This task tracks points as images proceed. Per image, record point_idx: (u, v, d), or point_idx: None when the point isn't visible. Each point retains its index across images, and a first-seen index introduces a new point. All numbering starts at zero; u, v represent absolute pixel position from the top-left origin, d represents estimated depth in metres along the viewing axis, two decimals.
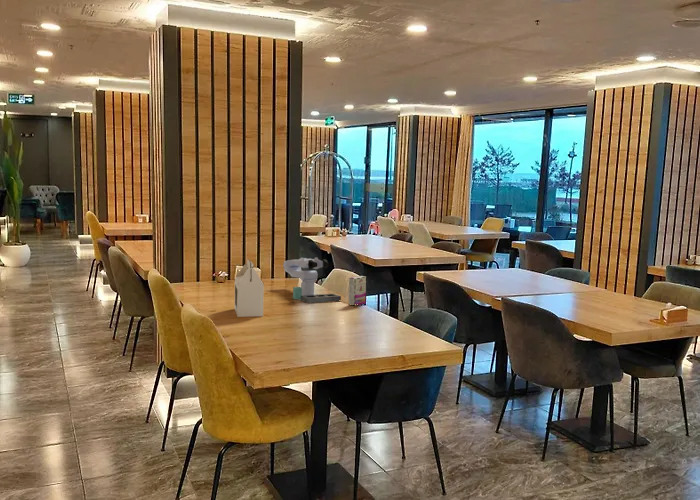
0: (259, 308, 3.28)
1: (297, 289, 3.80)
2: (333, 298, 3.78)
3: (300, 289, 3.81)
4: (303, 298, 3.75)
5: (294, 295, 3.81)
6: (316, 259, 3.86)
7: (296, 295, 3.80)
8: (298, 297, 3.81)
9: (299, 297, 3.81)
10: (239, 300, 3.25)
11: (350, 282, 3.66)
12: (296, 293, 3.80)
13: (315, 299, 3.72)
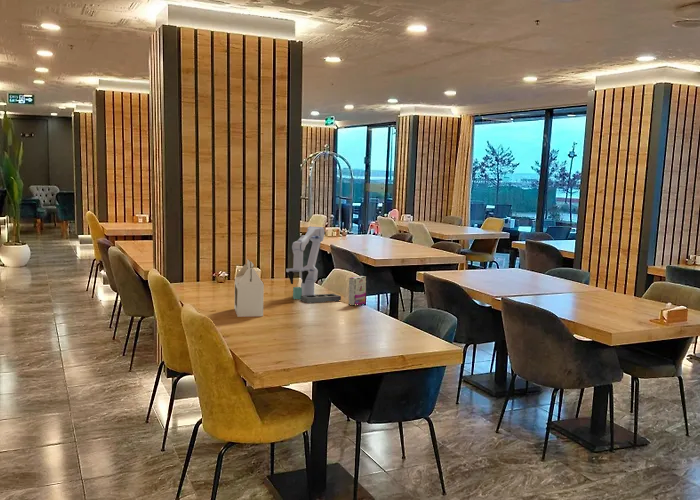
0: (259, 308, 3.28)
1: (297, 289, 3.80)
2: (333, 298, 3.78)
3: (300, 289, 3.81)
4: (303, 298, 3.75)
5: (294, 295, 3.81)
6: None
7: (296, 295, 3.80)
8: (298, 297, 3.81)
9: (299, 297, 3.81)
10: (239, 300, 3.25)
11: (350, 282, 3.66)
12: (296, 293, 3.80)
13: (315, 299, 3.72)
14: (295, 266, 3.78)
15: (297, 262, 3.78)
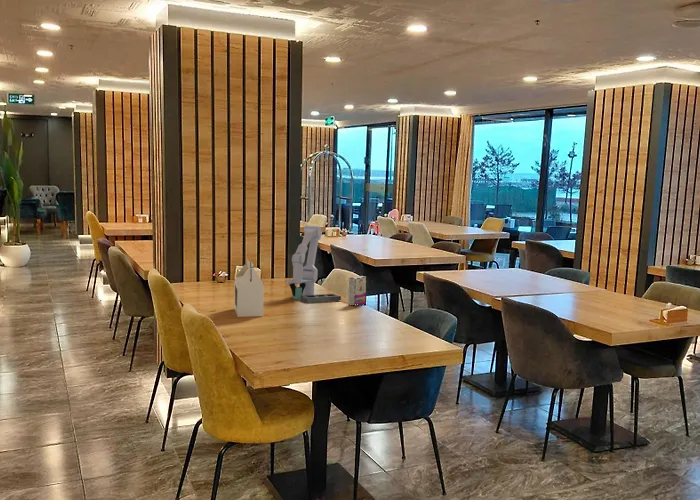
0: (259, 308, 3.28)
1: (297, 289, 3.80)
2: (333, 298, 3.78)
3: (300, 289, 3.81)
4: (303, 298, 3.75)
5: None
6: (299, 282, 3.79)
7: (296, 295, 3.80)
8: (298, 297, 3.81)
9: (299, 297, 3.81)
10: (239, 300, 3.25)
11: (350, 282, 3.66)
12: (296, 293, 3.80)
13: (315, 299, 3.72)
14: (295, 278, 3.79)
15: (297, 274, 3.79)
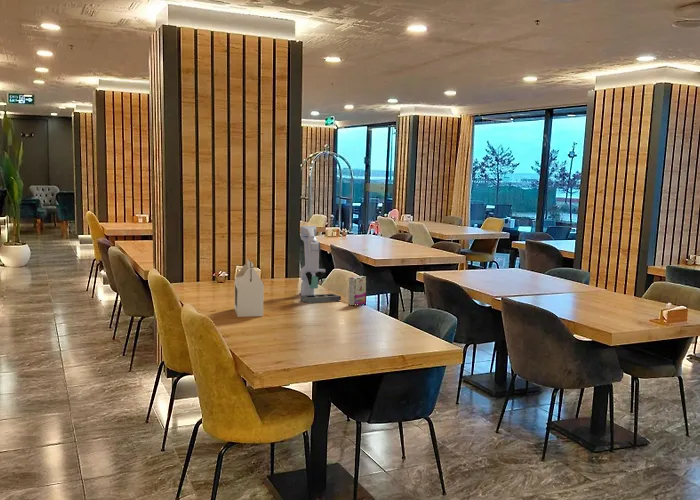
0: (259, 308, 3.28)
1: (313, 278, 3.77)
2: (333, 298, 3.78)
3: (316, 278, 3.78)
4: (303, 298, 3.75)
5: (311, 284, 3.78)
6: (315, 271, 3.76)
7: (312, 284, 3.77)
8: (314, 286, 3.78)
9: (315, 286, 3.78)
10: (239, 300, 3.25)
11: (350, 282, 3.66)
12: (312, 282, 3.77)
13: (315, 299, 3.72)
14: (311, 267, 3.76)
15: (313, 263, 3.75)
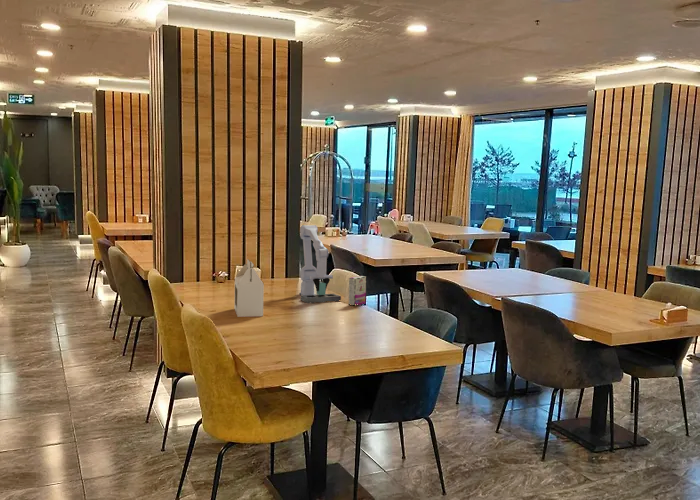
0: (259, 308, 3.28)
1: (321, 284, 3.76)
2: (333, 298, 3.78)
3: (324, 284, 3.77)
4: (303, 298, 3.75)
5: (318, 291, 3.77)
6: (323, 277, 3.75)
7: (320, 291, 3.76)
8: (322, 292, 3.77)
9: (323, 292, 3.77)
10: (239, 300, 3.25)
11: (350, 282, 3.66)
12: (320, 288, 3.76)
13: (315, 299, 3.72)
14: (319, 273, 3.75)
15: (321, 269, 3.75)
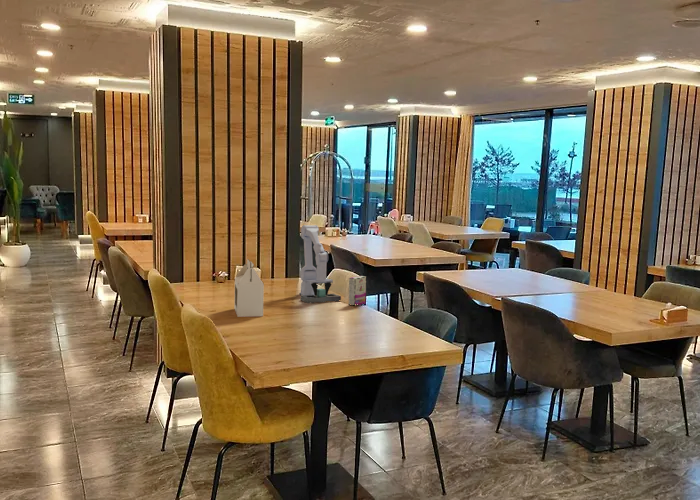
0: (259, 308, 3.28)
1: (321, 291, 3.76)
2: (333, 298, 3.78)
3: (324, 291, 3.77)
4: (303, 298, 3.75)
5: None
6: (323, 281, 3.76)
7: None
8: None
9: None
10: (239, 300, 3.25)
11: (350, 282, 3.66)
12: (320, 295, 3.76)
13: (315, 299, 3.72)
14: (318, 278, 3.75)
15: (320, 274, 3.75)
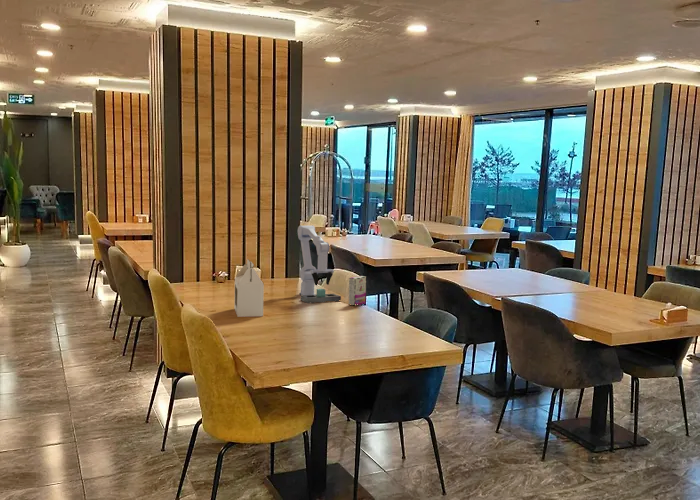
0: (259, 308, 3.28)
1: (321, 291, 3.76)
2: (333, 298, 3.78)
3: (324, 291, 3.77)
4: (303, 298, 3.75)
5: None
6: (324, 271, 3.77)
7: None
8: None
9: None
10: (239, 300, 3.25)
11: (350, 282, 3.66)
12: (320, 295, 3.76)
13: (315, 299, 3.72)
14: (319, 267, 3.77)
15: (321, 263, 3.76)
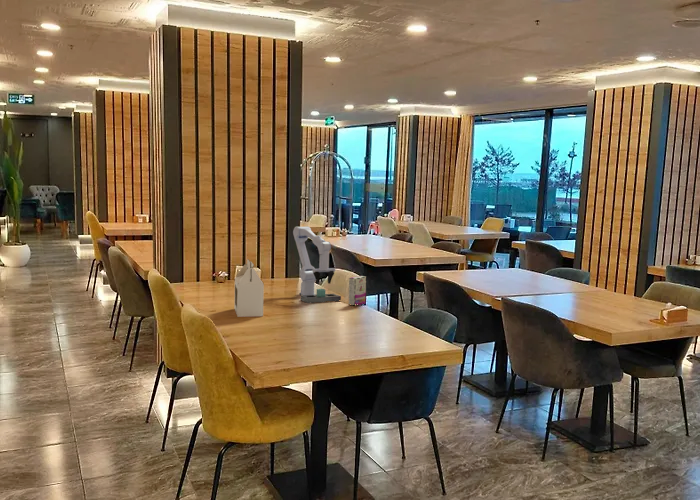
0: (259, 308, 3.28)
1: (321, 291, 3.76)
2: (333, 298, 3.78)
3: (324, 291, 3.77)
4: (303, 298, 3.75)
5: None
6: (325, 270, 3.81)
7: None
8: None
9: None
10: (239, 300, 3.25)
11: (350, 282, 3.66)
12: (320, 295, 3.76)
13: (315, 299, 3.72)
14: (321, 266, 3.81)
15: (323, 262, 3.81)
